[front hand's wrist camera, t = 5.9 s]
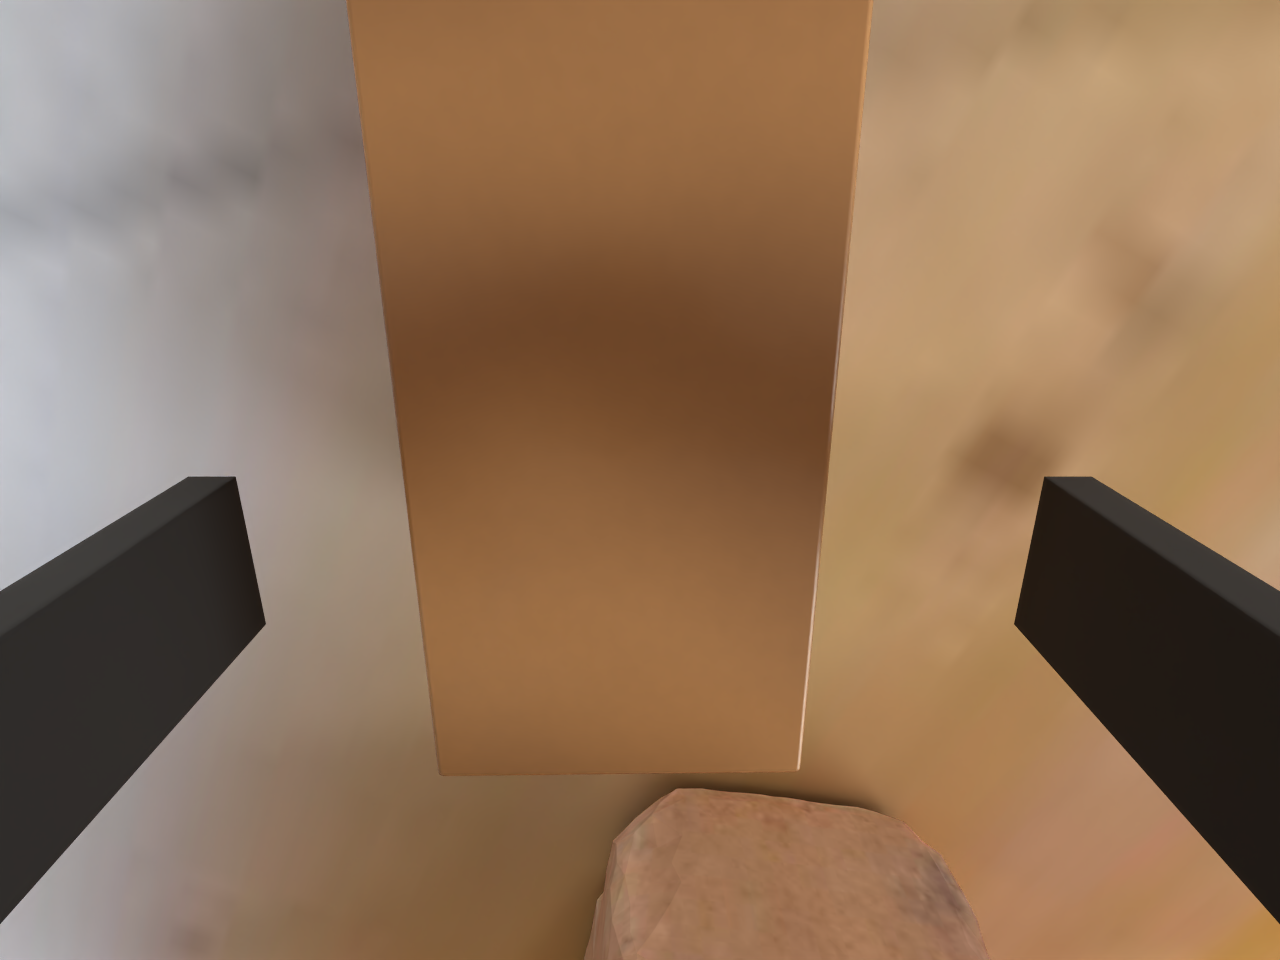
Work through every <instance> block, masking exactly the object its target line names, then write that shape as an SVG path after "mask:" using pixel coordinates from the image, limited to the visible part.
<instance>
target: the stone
mask: <svg viewBox="0 0 1280 960" xmlns="http://www.w3.org/2000/svg"><path fill="white" fill-rule="evenodd" d="M584 960H991V959H990V957H989V955H988V953H987V950H986V947H985V944H984V940H983V937H982V934H981V931H980V927H979V924H978V921H977V918H976V916H975V914H974V912H973V910H972V908H971V906H970V905H969V903H968V901H967V899H966V897H965V895H964V893H963V891H962V890H961V888H960V887H959V885H958V883H957V882H956V880H955V878H954V876H953V875H952V873H951V871H950V869H949V868H948V866H947V864H946V862H945V860H944V859H943V857H942V855H941V854H940V853H938V852H937V851H935V850H934V849H933V848H931V847H930V846H928V845H927V844H925V843H924V842H922V840H921V839H920V838H919V837H918V836H917V835H916V834H915V833H914V832H913V831H912V830H911V829H910V828H909V827H908V826H907V824H906V823H905V822H904V821H901V820H898V819H895V818H892V817H889V816H886V815H883V814H881V813H878V812H875V811H871V810H867V809H863V808H859V807H852V806H840V805H832V804H824V803H816V802H809V801H805V800H799V799H793V798H787V797H773V796H767V795H761V794H751V793H737V792H725V791H717V790H709V789H702V788H689V789H675V790H673V791H672V792H670V793H668V794H667V795H665V796H663V797H662V798H660V799H658V800H657V801H656V802H654V803H653V804H652V805H651V806H650V807H648V808H647V809H646V810H645V811H643V812H642V813H641V814H640V815H639V816H637V817H636V818H635V819H634V820H633V821H632V822H631V823H630V824H629V825H628V826H627V827H626V828H625V829H624V830H623V831H622V832H621V833H620V834H619V835H618V836H617V837H616V838H615V839H614V840H613V843H612V847H611V852H610V856H609V861H608V865H607V870H606V878H605V886H604V892H603V893H602V894H601V895H600V897H599V898H598V899H597V903H596V908H595V914H594V919H593V925H592V930H591V935H590V939H589V942H588V946H587V949H586V953H585V957H584Z"/></svg>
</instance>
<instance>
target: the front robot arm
mask: <svg viewBox="0 0 1280 960" xmlns="http://www.w3.org/2000/svg"><path fill="white" fill-rule="evenodd" d="M265 625H266V622H265V618H264V613H263V608H262V603H261V598H260V593H259V588H258V583H257V579H256V574H255V569H254V564H253V559H252V554H251V549H250V544H249V540H248V535H247V530H246V525H245V520H244V515H243V510H242V505H241V501H240V496H239V491H238V486H237V481H236V477H187V478H186V479H184V480H182V481H181V482H179V483H177V484H176V485H174V486H172V487H171V488H169V489H167V490H166V491H164V492H163V493H161V494H159V495H158V496H156V497H154V498H153V499H151V500H149V501H148V502H146V503H144V504H143V505H141V506H140V507H138V508H136V509H135V510H133V511H131V512H130V513H128V514H126V515H125V516H123V517H121V518H120V519H118V520H117V521H115V522H113V523H112V524H110V525H108V526H107V527H105V528H103V529H102V530H100V531H98V532H97V533H95V534H94V535H92V536H90V537H89V538H87V539H85V540H84V541H82V542H80V543H79V544H77V545H75V546H74V547H72V548H71V549H69V550H67V551H66V552H64V553H62V554H61V555H59V556H57V557H56V558H54V559H52V560H51V561H49V562H48V563H46V564H44V565H43V566H41V567H39V568H38V569H36V570H34V571H33V572H31V573H29V574H28V575H26V576H25V577H23V578H21V579H20V580H18V581H16V582H15V583H13V584H11V585H10V586H8V587H7V588H5V589H3V590H2V591H0V924H1V922H2V921H3V920H4V919H5V918H6V917H7V916H8V915H9V913H10V912H11V911H12V910H13V909H14V908H15V907H16V906H17V904H18V903H19V902H20V901H21V900H22V899H23V898H24V897H25V895H26V894H27V893H28V892H29V891H30V890H31V889H32V888H33V886H34V885H35V884H36V883H37V882H38V881H39V880H40V878H41V877H42V876H43V875H44V874H45V873H46V872H47V871H48V869H49V868H50V867H51V866H52V865H53V864H54V863H55V862H56V860H57V859H58V858H59V857H60V856H61V855H62V854H63V853H64V851H65V850H66V849H67V848H68V847H69V846H70V845H71V843H72V842H73V841H74V840H75V839H76V838H77V837H78V836H79V834H80V833H81V832H82V831H83V830H84V829H85V828H86V827H87V825H88V824H89V823H90V822H91V821H92V820H93V819H94V818H95V816H96V815H97V814H98V813H99V812H100V811H101V810H102V808H103V807H104V806H105V805H106V804H107V803H108V802H109V801H110V799H111V798H112V797H113V796H114V795H115V794H116V793H117V792H118V790H119V789H120V788H121V787H122V786H123V785H124V784H125V783H126V781H127V780H128V779H129V778H130V777H131V776H132V775H133V774H134V772H135V771H136V770H137V769H138V768H139V767H140V766H141V764H142V763H143V762H144V761H145V760H146V759H147V758H148V757H149V755H150V754H151V753H152V752H153V751H154V750H155V749H156V748H157V746H158V745H159V744H160V743H161V742H162V741H163V740H164V739H165V737H166V736H167V735H168V734H169V733H170V732H171V731H172V729H173V728H174V727H175V726H176V725H177V724H178V723H179V722H180V720H181V719H182V718H183V717H184V716H185V715H186V714H187V713H188V711H189V710H190V709H191V708H192V707H193V706H194V705H195V704H196V702H197V701H198V700H199V699H200V698H201V697H202V696H203V694H204V693H205V692H206V691H207V690H208V689H209V688H210V687H211V685H212V684H213V683H214V682H215V681H216V680H217V679H218V678H219V676H220V675H221V674H222V673H223V672H224V671H225V670H226V669H227V667H228V666H229V665H230V664H231V663H232V662H233V661H234V659H235V658H236V657H237V656H238V655H239V654H240V653H241V652H242V650H243V649H244V648H245V647H246V646H247V645H248V644H249V643H250V641H251V640H252V639H253V638H254V637H255V636H256V635H257V634H258V632H259V631H260V630H261V629H262V628H263V627H264V626H265ZM1014 625H1015V626H1016V627H1017V628H1018V629H1019V630H1020V631H1021V632H1022V634H1023V635H1024V636H1025V637H1026V638H1027V639H1028V640H1029V641H1030V643H1031V644H1032V645H1033V646H1034V647H1035V648H1036V649H1037V650H1038V652H1039V653H1040V654H1041V655H1042V656H1043V657H1044V658H1045V659H1046V661H1047V662H1048V663H1049V664H1050V665H1051V666H1052V667H1053V669H1054V670H1055V671H1056V672H1057V673H1058V674H1059V675H1060V676H1061V678H1062V679H1063V680H1064V681H1065V682H1066V683H1067V684H1068V685H1069V687H1070V688H1071V689H1072V690H1073V691H1074V692H1075V693H1076V694H1077V696H1078V697H1079V698H1080V699H1081V700H1082V701H1083V702H1084V704H1085V705H1086V706H1087V707H1088V708H1089V709H1090V710H1091V711H1092V713H1093V714H1094V715H1095V716H1096V717H1097V718H1098V719H1099V720H1100V722H1101V723H1102V724H1103V725H1104V726H1105V727H1106V728H1107V729H1108V731H1109V732H1110V733H1111V734H1112V735H1113V736H1114V737H1115V739H1116V740H1117V741H1118V742H1119V743H1120V744H1121V745H1122V746H1123V748H1124V749H1125V750H1126V751H1127V752H1128V753H1129V754H1130V755H1131V757H1132V758H1133V759H1134V760H1135V761H1136V762H1137V763H1138V764H1139V766H1140V767H1141V768H1142V769H1143V770H1144V771H1145V772H1146V774H1147V775H1148V776H1149V777H1150V778H1151V779H1152V780H1153V781H1154V783H1155V784H1156V785H1157V786H1158V787H1159V788H1160V789H1161V790H1162V792H1163V793H1164V794H1165V795H1166V796H1167V797H1168V798H1169V799H1170V801H1171V802H1172V803H1173V804H1174V805H1175V806H1176V807H1177V808H1178V810H1179V811H1180V812H1181V813H1182V814H1183V815H1184V816H1185V818H1186V819H1187V820H1188V821H1189V822H1190V823H1191V824H1192V825H1193V827H1194V828H1195V829H1196V830H1197V831H1198V832H1199V833H1200V834H1201V836H1202V837H1203V838H1204V839H1205V840H1206V841H1207V842H1208V843H1209V845H1210V846H1211V847H1212V848H1213V849H1214V850H1215V851H1216V853H1217V854H1218V855H1219V856H1220V857H1221V858H1222V859H1223V860H1224V862H1225V863H1226V864H1227V865H1228V866H1229V867H1230V868H1231V869H1232V871H1233V872H1234V873H1235V874H1236V875H1237V876H1238V877H1239V878H1240V880H1241V881H1242V882H1243V883H1244V884H1245V885H1246V886H1247V888H1248V889H1249V890H1250V891H1251V892H1252V893H1253V894H1254V895H1255V897H1256V898H1257V899H1258V900H1259V901H1260V902H1261V903H1262V904H1263V906H1264V907H1265V908H1266V909H1267V910H1268V911H1269V912H1270V913H1271V915H1272V916H1273V917H1274V918H1275V919H1276V920H1277V921H1278V922H1279V924H1280V591H1278V590H1277V589H1275V588H1273V587H1272V586H1270V585H1269V584H1267V583H1265V582H1264V581H1262V580H1260V579H1259V578H1257V577H1255V576H1254V575H1252V574H1251V573H1249V572H1247V571H1246V570H1244V569H1242V568H1241V567H1239V566H1237V565H1236V564H1234V563H1232V562H1231V561H1229V560H1228V559H1226V558H1224V557H1223V556H1221V555H1219V554H1218V553H1216V552H1214V551H1213V550H1211V549H1209V548H1208V547H1206V546H1205V545H1203V544H1201V543H1200V542H1198V541H1196V540H1195V539H1193V538H1191V537H1190V536H1188V535H1186V534H1185V533H1183V532H1182V531H1180V530H1178V529H1177V528H1175V527H1173V526H1172V525H1170V524H1168V523H1167V522H1165V521H1163V520H1162V519H1160V518H1159V517H1157V516H1155V515H1154V514H1152V513H1150V512H1149V511H1147V510H1145V509H1144V508H1142V507H1140V506H1139V505H1137V504H1136V503H1134V502H1132V501H1131V500H1129V499H1127V498H1126V497H1124V496H1122V495H1121V494H1119V493H1117V492H1116V491H1114V490H1113V489H1111V488H1109V487H1108V486H1106V485H1104V484H1103V483H1101V482H1099V481H1098V480H1096V479H1094V478H1093V477H1044V481H1043V486H1042V491H1041V496H1040V501H1039V505H1038V510H1037V515H1036V520H1035V525H1034V530H1033V535H1032V540H1031V544H1030V549H1029V554H1028V559H1027V564H1026V569H1025V574H1024V579H1023V583H1022V588H1021V593H1020V598H1019V603H1018V608H1017V613H1016V618H1015V622H1014Z"/></svg>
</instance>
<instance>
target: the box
mask: <svg viewBox="0 0 1280 960" xmlns="http://www.w3.org/2000/svg"><path fill="white" fill-rule="evenodd" d="M346 5H347V14H348V22H349V30H350V39H351V47H352V55H353V64H354V72H355V80H356V89H357V97H358V105H359V113H360V122H361V130H362V138H363V147H364V155H365V163H366V172H367V180H368V188H369V197H370V205H371V213H372V222H373V230H374V238H375V247H376V255H377V263H378V272H379V280H380V288H381V297H382V305H383V313H384V322H385V330H386V338H387V347H388V355H389V363H390V372H391V380H392V388H393V397H394V405H395V413H396V422H397V430H398V438H399V447H400V455H401V463H402V472H403V480H404V488H405V497H406V505H407V513H408V522H409V530H410V538H411V547H412V555H413V563H414V572H415V580H416V588H417V597H418V605H419V613H420V622H421V630H422V638H423V647H424V655H425V663H426V672H427V680H428V688H429V697H430V705H431V713H432V721H433V730H434V738H435V746H436V755H437V763H438V771H439V774H440V775H442V776H472V775H559V774H645V773H732V772H796V771H799V769H800V764H801V754H802V743H803V733H804V722H805V712H806V701H807V691H808V680H809V669H810V659H811V648H812V638H813V627H814V617H815V606H816V596H817V585H818V575H819V564H820V554H821V543H822V533H823V522H824V512H825V501H826V491H827V480H828V470H829V459H830V449H831V438H832V428H833V417H834V407H835V396H836V386H837V375H838V365H839V354H840V344H841V333H842V323H843V312H844V302H845V291H846V281H847V270H848V260H849V249H850V239H851V228H852V218H853V207H854V197H855V186H856V176H857V165H858V155H859V144H860V134H861V123H862V113H863V102H864V92H865V81H866V71H867V60H868V50H869V39H870V29H871V18H872V8H873V0H346Z"/></svg>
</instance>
